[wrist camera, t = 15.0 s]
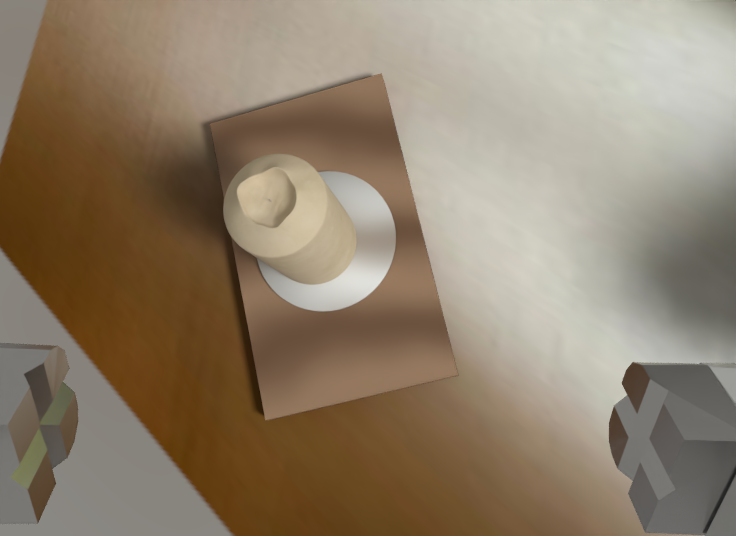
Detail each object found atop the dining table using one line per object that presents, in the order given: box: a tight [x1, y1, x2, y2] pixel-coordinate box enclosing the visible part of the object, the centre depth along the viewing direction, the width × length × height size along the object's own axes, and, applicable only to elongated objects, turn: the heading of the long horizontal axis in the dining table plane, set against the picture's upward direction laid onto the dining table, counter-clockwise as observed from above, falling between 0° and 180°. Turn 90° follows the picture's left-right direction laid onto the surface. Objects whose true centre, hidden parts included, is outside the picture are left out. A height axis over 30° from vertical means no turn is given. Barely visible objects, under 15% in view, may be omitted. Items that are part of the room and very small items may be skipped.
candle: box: [223, 154, 357, 285], centre depth 38 cm, size 6×6×10 cm
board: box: [210, 73, 458, 420], centre depth 44 cm, size 20×12×2 cm, turn 13°
